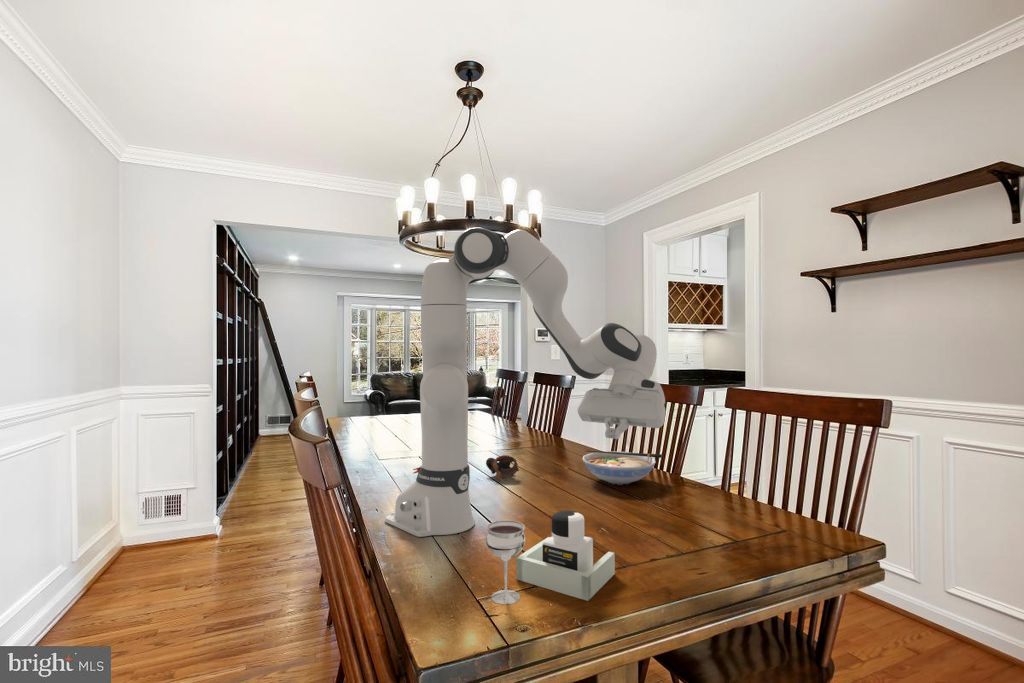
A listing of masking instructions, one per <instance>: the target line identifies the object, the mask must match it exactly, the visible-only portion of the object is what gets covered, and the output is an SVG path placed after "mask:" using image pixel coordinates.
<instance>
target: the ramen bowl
mask: <svg viewBox="0 0 1024 683" xmlns="http://www.w3.org/2000/svg"><path fill="white" fill-rule="evenodd" d="M585 452H590V453H587V454H585V455H583V456H582V461H583V463H584V465H585V466H586V468H587V470H588V471H589V472H590V473H591V474H592V475H593V476H595V477H596V478H597V479H600V480H603V481H605V482H607V483H608V484H610V483H611V485H615V484H617V485H616V486H624V485H623V484H626V485H629V484H631V483H633V482H637V481H640V480H641V479H643V478H646V476H648V474H650V473H651V471H652V469H653V468H654V466H655V464H656V462H657V461H656V459H655V458H659V459H660V458H662V457H663V454H662V453H661V454H659V453H644V452H643V453H642V452H641V453H640V452H630V451H629V452H627V451H614V450H613V451H612V450H611V451H601V450H600V451H599V450H585Z"/></svg>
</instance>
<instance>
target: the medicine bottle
mask: <svg viewBox="0 0 1024 683" xmlns="http://www.w3.org/2000/svg"><path fill="white" fill-rule="evenodd" d="M549 537H550V538H549V539H547V540H546V541H545V542H543V562H546V563H550V564H553V565H557V566H561V567H564V568H568V569H572V570H575V571H579V572H583V573H585V572H586V571H587V570H588V569H589V568H591V567H592V566H593V565H594V539H593V537H591V536H585V517H584V515H583V514H581V513H580V512H578V511H575V510H559V511H557V512H555V513H553V514H552V516H551V536H549Z"/></svg>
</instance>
